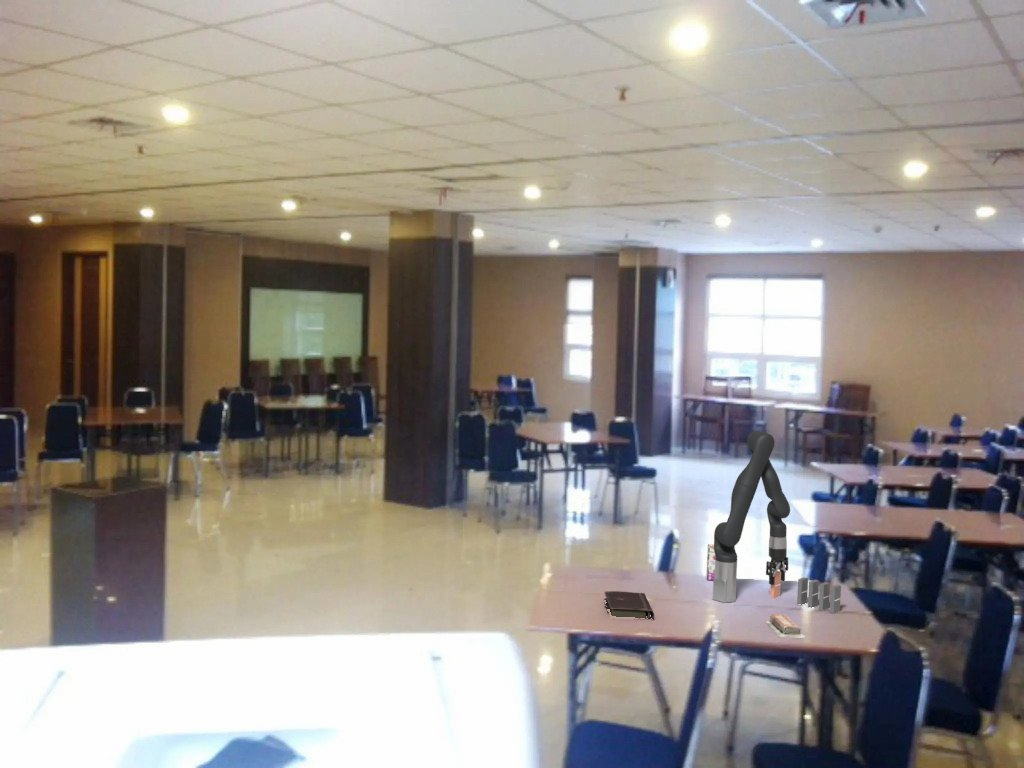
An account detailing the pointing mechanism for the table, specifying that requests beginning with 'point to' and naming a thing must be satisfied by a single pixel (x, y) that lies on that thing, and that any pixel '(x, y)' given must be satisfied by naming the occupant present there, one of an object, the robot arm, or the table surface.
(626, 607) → the diary
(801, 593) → the domino
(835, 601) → the domino
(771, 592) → the domino
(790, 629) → the packaged product
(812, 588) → the domino
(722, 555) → the robot arm
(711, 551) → the candy bar box
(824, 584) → the domino
